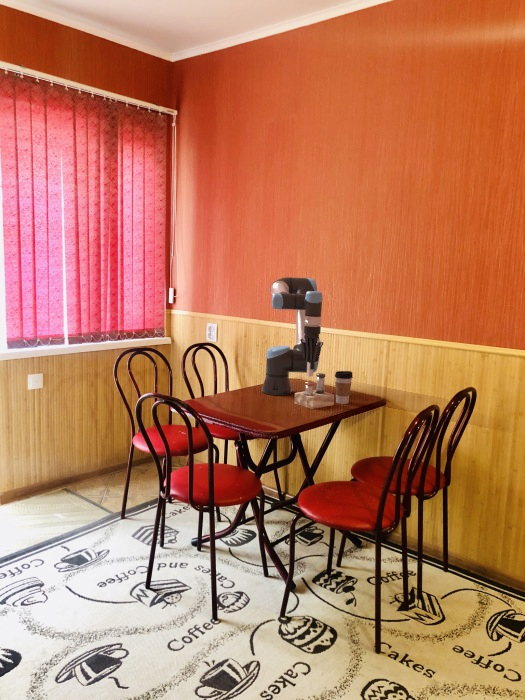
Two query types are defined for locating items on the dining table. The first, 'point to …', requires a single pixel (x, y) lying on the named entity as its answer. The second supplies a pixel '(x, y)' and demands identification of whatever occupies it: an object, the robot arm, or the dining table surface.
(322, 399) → the beech block
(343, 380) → the coffee cup
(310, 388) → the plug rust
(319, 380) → the grey capped glass jar
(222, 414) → the dining table surface
